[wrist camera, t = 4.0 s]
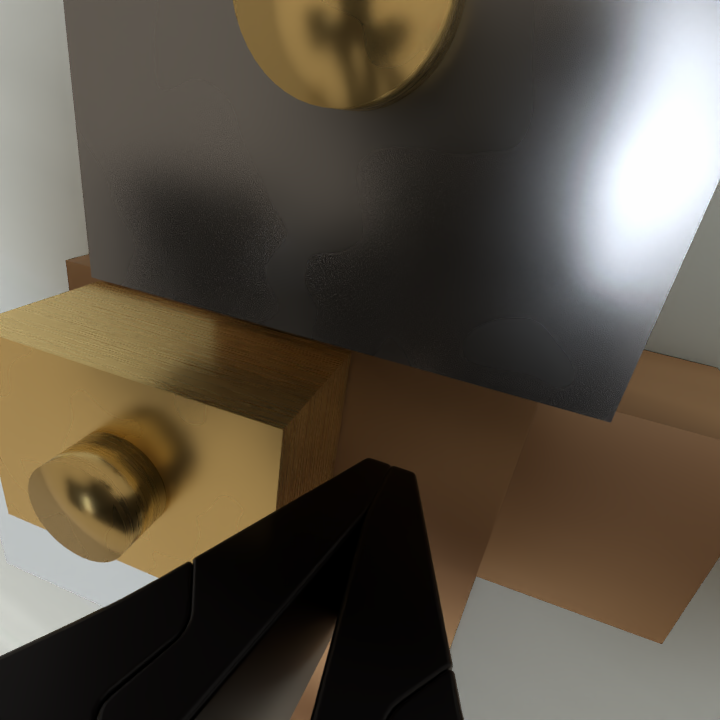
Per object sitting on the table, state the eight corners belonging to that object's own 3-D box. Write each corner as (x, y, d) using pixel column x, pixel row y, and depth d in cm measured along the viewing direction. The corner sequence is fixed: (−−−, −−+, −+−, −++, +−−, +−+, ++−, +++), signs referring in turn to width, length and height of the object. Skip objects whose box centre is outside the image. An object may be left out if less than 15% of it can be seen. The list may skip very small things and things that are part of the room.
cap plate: (591, 344, 7) (618, 456, 5) (194, 244, 8) (52, 290, 6) (881, -396, 4) (1419, -1238, 2) (190, -357, 5) (-95, -756, 3)
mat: (191, 628, 18) (181, 642, 18) (20, 552, 20) (6, 563, 20) (188, 398, 14) (175, 408, 13) (-31, 326, 16) (-51, 332, 15)
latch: (326, 515, 10) (237, 672, 7) (114, 438, 11) (-38, 547, 8) (351, 351, 8) (249, 467, 5) (100, 280, 9) (-98, 345, 6)
